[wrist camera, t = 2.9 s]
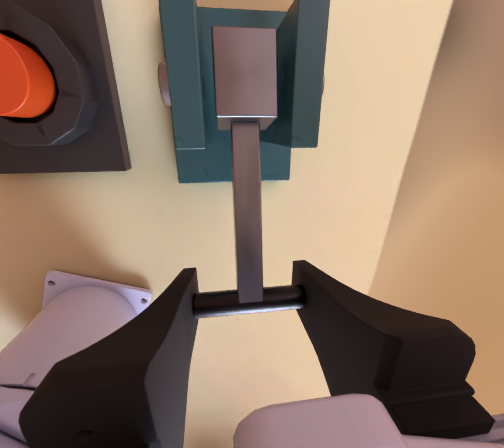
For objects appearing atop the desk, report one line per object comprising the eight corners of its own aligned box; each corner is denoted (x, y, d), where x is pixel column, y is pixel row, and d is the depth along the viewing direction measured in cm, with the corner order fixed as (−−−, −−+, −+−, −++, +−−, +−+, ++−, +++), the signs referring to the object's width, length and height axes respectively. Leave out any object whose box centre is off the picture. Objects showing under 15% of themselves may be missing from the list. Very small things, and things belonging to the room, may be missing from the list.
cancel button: (64, 118, 13) (39, 115, 12) (-7, 117, 13) (-46, 115, 11) (44, 40, 12) (12, 23, 10) (-36, 38, 12) (-85, 19, 10)
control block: (131, 168, 17) (115, 175, 14) (8, 171, 16) (-35, 179, 14) (99, -10, 14) (69, -46, 11) (-61, -19, 13) (-139, -62, 10)
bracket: (285, 177, 19) (346, 218, 10) (181, 180, 18) (142, 228, 9) (292, 20, 15) (398, -141, 6) (163, 14, 14) (67, -187, 5)
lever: (294, 294, 13) (311, 321, 10) (197, 303, 12) (191, 333, 10) (296, 62, 10) (318, 29, 8) (178, 59, 10) (165, 22, 8)
